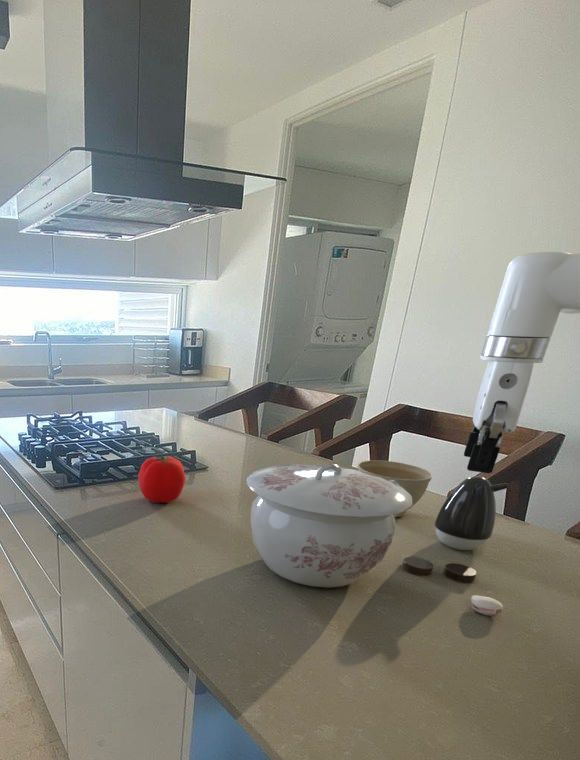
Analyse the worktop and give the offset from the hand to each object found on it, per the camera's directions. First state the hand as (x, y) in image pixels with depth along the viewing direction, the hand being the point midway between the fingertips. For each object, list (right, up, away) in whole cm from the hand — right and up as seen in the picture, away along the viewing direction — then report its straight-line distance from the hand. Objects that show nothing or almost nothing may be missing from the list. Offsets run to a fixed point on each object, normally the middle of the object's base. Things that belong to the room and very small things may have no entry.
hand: (476, 464), depth 78 cm
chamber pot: (-21, -18, +15) cm, 31 cm away
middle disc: (+6, -19, +13) cm, 24 cm away
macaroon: (+3, -24, +3) cm, 24 cm away
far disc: (-1, -18, +15) cm, 24 cm away
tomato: (-48, -2, +49) cm, 68 cm away
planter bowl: (+8, -6, +44) cm, 45 cm away
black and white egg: (+14, -14, +26) cm, 33 cm away
